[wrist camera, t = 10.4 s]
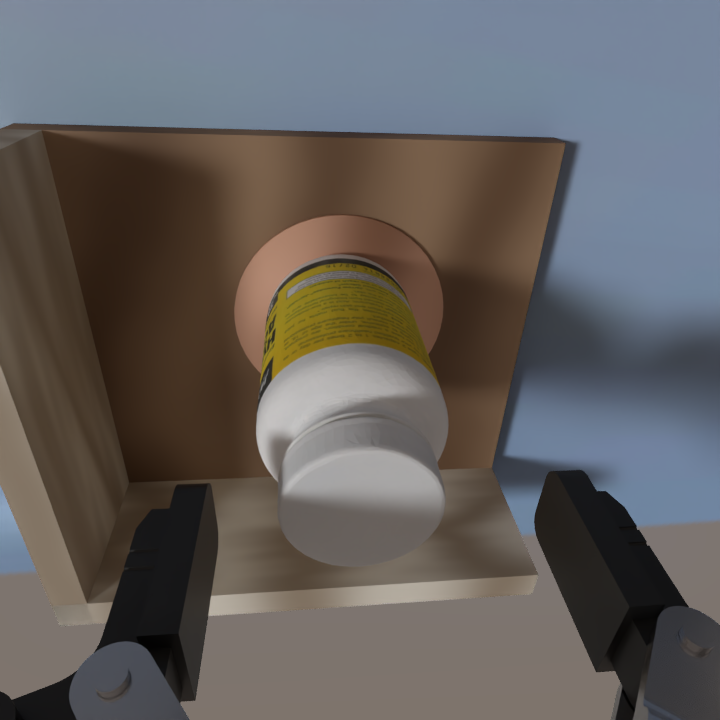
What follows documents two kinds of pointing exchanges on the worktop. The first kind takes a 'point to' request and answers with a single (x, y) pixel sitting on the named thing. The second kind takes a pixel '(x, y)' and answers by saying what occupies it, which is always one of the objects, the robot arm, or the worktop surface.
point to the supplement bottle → (350, 414)
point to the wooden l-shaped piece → (246, 340)
